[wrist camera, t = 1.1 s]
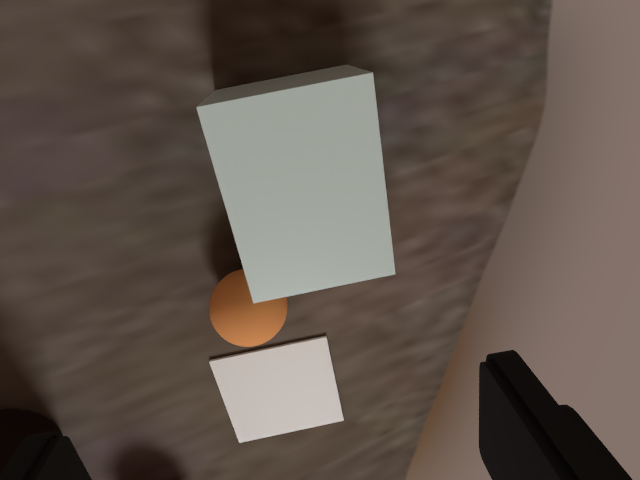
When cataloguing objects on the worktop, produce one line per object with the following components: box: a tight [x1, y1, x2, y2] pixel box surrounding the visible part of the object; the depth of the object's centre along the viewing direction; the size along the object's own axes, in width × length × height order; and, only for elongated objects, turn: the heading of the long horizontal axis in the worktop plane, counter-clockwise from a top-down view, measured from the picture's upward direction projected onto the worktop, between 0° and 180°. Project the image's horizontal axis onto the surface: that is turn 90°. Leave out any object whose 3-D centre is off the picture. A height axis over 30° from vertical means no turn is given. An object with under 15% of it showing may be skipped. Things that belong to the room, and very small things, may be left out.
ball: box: [209, 269, 287, 347], centre depth 28 cm, size 5×5×5 cm
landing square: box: [209, 336, 344, 443], centre depth 34 cm, size 9×9×1 cm
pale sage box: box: [196, 64, 395, 304], centre depth 24 cm, size 10×8×7 cm
